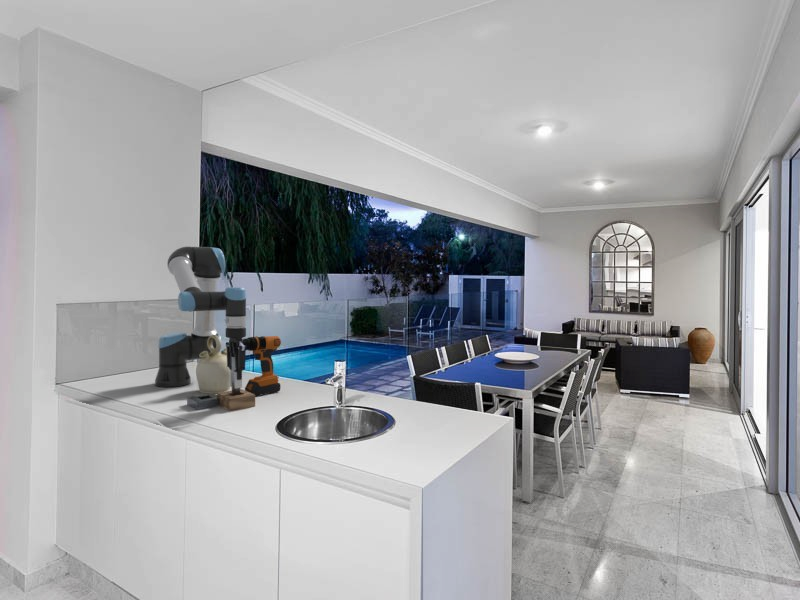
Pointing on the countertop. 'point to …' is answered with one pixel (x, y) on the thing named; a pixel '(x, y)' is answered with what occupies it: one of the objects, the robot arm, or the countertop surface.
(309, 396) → the countertop surface
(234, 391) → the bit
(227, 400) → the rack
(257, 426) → the countertop surface
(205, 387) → the jug
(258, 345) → the power drill
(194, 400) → the socket block
